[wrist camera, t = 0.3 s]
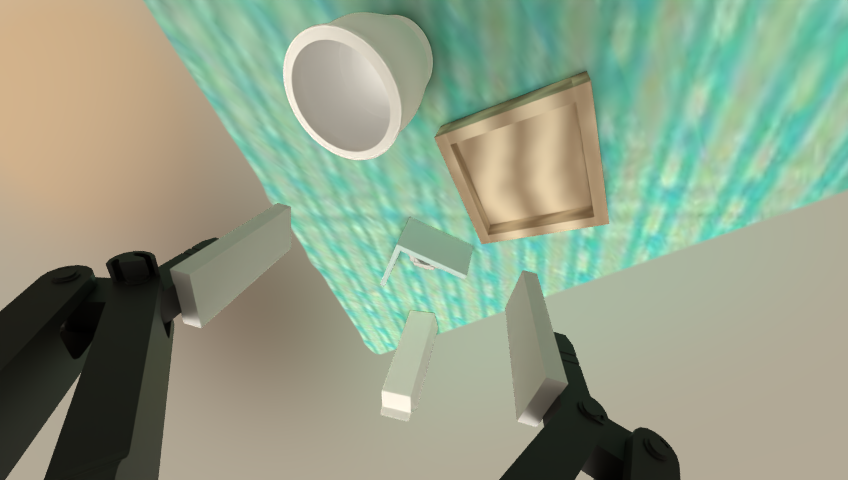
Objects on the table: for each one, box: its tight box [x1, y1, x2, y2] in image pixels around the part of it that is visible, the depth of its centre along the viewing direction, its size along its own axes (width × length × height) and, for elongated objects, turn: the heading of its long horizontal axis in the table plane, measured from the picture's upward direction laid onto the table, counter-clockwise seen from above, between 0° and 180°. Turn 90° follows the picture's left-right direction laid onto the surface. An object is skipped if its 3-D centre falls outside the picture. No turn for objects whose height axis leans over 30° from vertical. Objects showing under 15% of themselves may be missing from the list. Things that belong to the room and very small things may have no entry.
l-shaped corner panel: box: [380, 217, 473, 286], centre depth 54 cm, size 12×12×8 cm
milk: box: [380, 310, 438, 421], centre depth 64 cm, size 6×6×22 cm
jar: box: [283, 12, 433, 160], centre depth 30 cm, size 11×10×15 cm
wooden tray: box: [434, 71, 609, 244], centre depth 39 cm, size 17×18×4 cm
